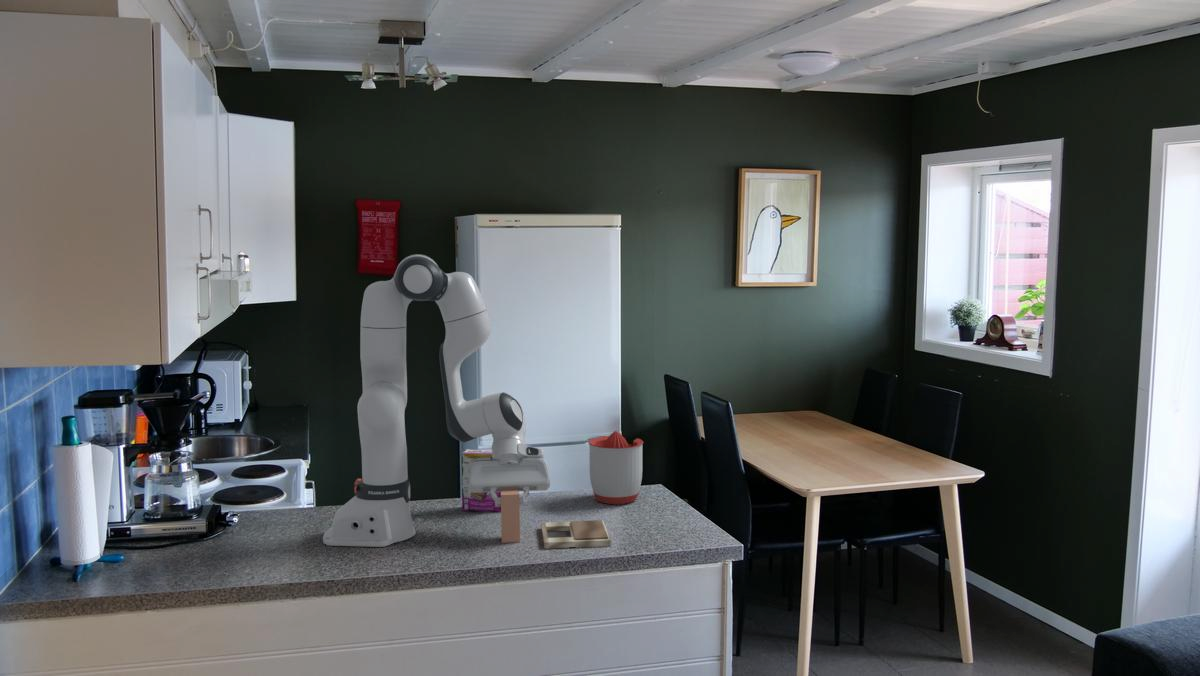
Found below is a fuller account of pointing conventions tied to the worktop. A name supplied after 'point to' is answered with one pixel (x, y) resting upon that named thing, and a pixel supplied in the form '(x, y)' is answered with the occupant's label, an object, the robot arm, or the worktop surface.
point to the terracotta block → (510, 516)
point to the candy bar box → (469, 498)
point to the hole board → (575, 534)
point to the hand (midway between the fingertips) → (510, 505)
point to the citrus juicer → (615, 468)
